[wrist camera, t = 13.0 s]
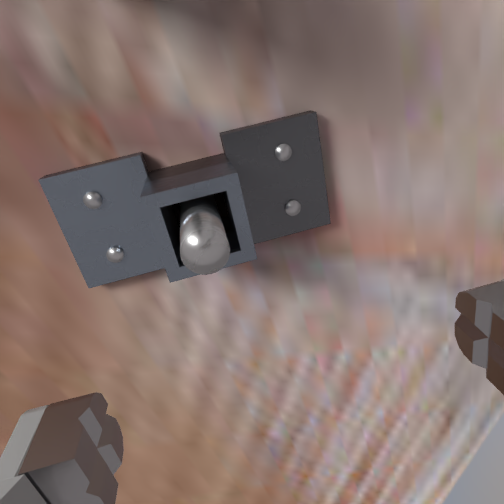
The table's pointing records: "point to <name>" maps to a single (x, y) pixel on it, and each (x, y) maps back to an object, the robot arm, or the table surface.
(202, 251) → the pin
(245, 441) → the table surface
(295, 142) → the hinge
